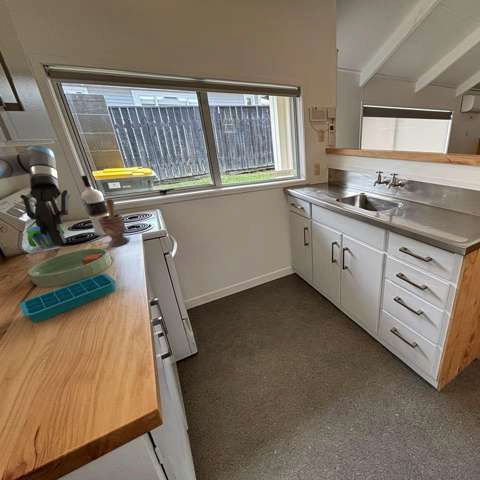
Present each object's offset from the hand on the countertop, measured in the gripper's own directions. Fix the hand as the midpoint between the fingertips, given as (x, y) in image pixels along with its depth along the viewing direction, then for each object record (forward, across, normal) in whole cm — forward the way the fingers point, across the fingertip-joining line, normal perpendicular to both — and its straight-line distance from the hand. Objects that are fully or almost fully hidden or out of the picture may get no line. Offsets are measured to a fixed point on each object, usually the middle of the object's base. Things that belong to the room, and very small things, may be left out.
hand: (50, 232), depth 93 cm
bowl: (+15, -4, -6) cm, 17 cm away
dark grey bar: (+1, 0, -7) cm, 7 cm away
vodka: (-19, -8, -41) cm, 46 cm away
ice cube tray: (+32, -7, +11) cm, 35 cm away
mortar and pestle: (-4, -15, -25) cm, 29 cm away
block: (+16, -10, -5) cm, 19 cm away
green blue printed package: (-14, +12, -36) cm, 40 cm away
